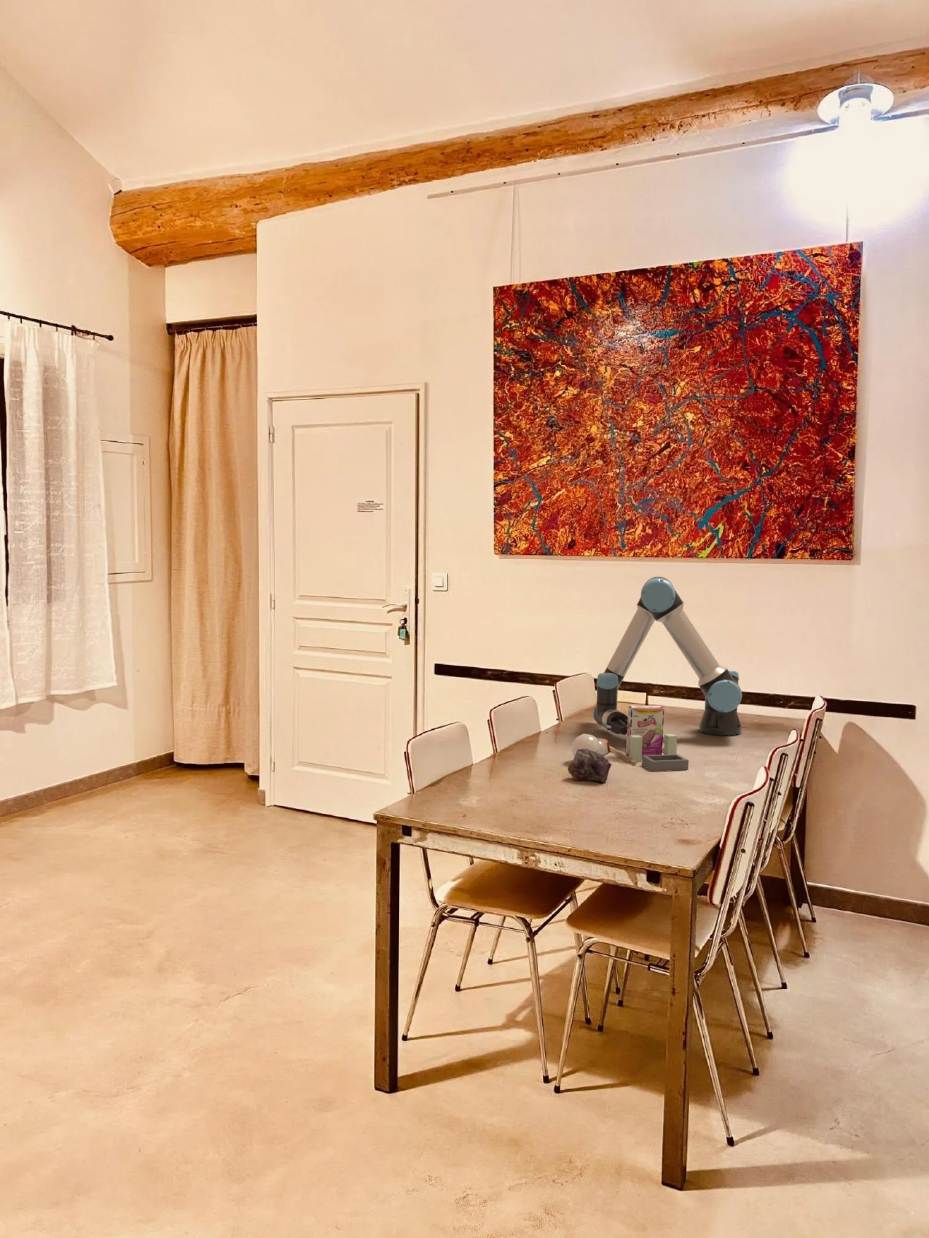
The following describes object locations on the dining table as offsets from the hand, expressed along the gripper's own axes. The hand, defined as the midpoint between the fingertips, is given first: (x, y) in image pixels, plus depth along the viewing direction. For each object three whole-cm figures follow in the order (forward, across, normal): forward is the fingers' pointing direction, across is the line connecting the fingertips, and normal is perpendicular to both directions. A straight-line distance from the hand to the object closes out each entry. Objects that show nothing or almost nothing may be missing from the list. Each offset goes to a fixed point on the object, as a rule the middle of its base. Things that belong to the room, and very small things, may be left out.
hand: (641, 735), depth 321 cm
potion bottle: (+7, +21, -6) cm, 23 cm away
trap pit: (+19, 0, -6) cm, 19 cm away
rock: (+29, +28, -6) cm, 41 cm away
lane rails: (+1, 0, -6) cm, 6 cm away
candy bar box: (+3, 0, -6) cm, 7 cm away
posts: (+9, 0, -6) cm, 11 cm away
